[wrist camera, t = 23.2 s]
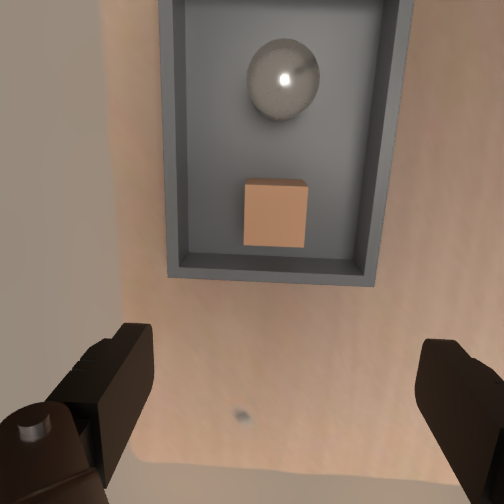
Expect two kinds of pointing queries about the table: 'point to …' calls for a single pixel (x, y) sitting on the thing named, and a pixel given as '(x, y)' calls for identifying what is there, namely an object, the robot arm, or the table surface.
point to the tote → (279, 135)
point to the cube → (275, 212)
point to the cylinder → (282, 79)
